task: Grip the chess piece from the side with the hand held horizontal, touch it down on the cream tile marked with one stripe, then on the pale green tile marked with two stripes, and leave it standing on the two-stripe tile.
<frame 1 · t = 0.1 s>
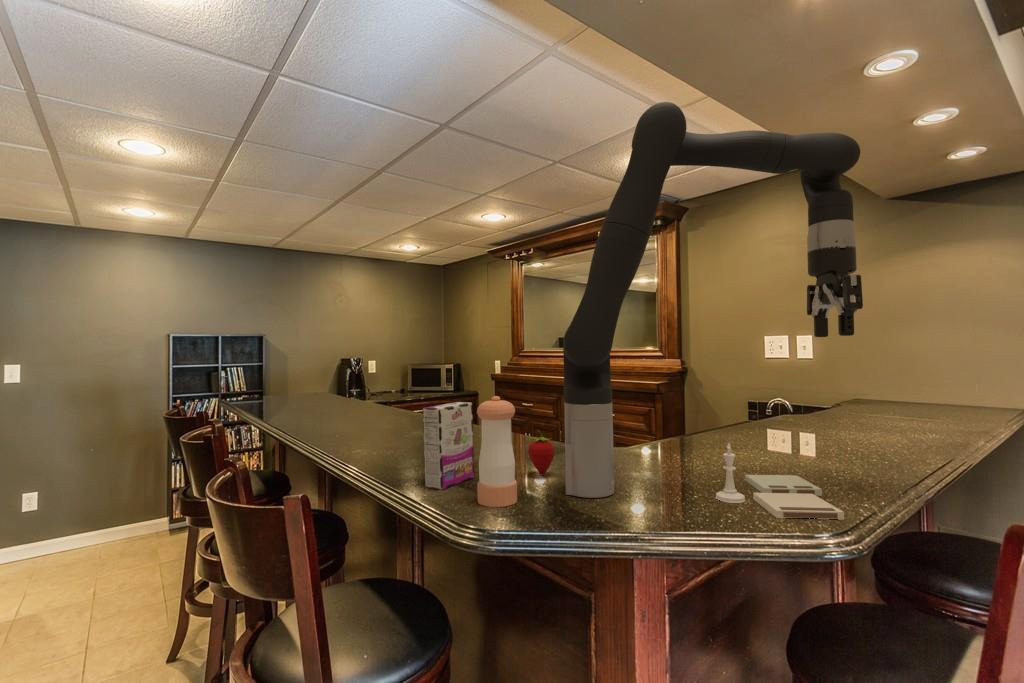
hand: (833, 336, 89), 29 cm above the countertop, tool pointing down, fingers open, 8 cm apart
pepper shaker: (497, 502, 89), on the countertop
tile two: (781, 487, 94), on the countertop
tile one: (795, 508, 82), on the countertop
strawberry: (541, 476, 107), on the countertop
candy bar box: (449, 483, 102), on the countertop
chess piece: (730, 500, 88), on the countertop
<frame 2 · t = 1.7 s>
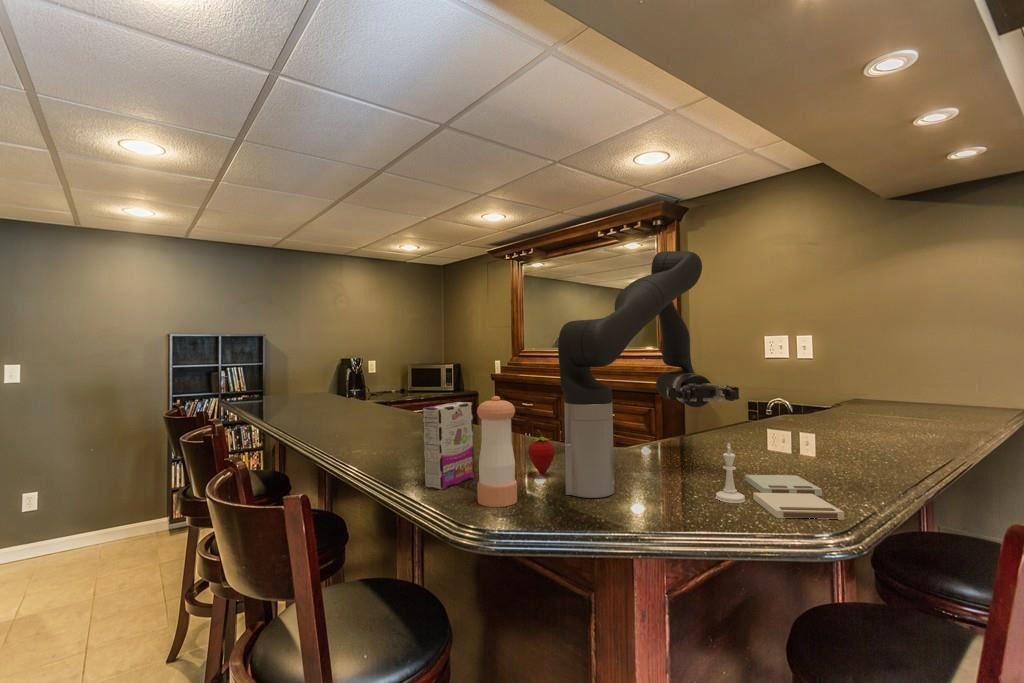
hand: (710, 395, 99), 18 cm above the countertop, tool horizontal, fingers open, 8 cm apart
nothing on the countertop moved.
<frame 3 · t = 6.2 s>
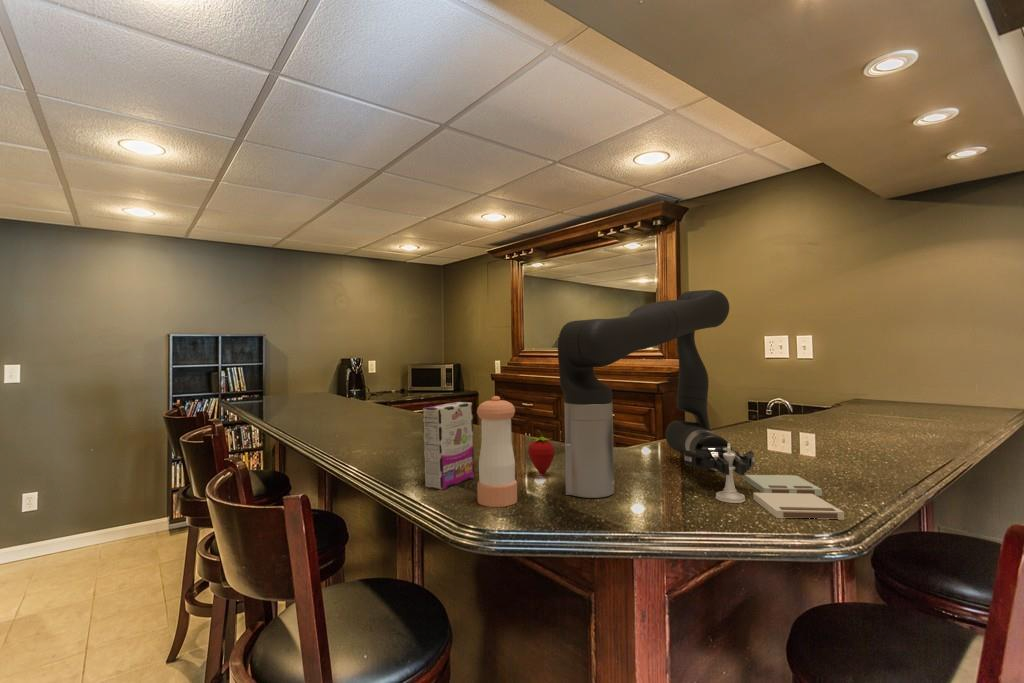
hand: (734, 469, 85), 6 cm above the countertop, tool horizontal, fingers closed on chess piece
chess piece: (730, 500, 88), on the countertop, touching gripper
everything else where it was.
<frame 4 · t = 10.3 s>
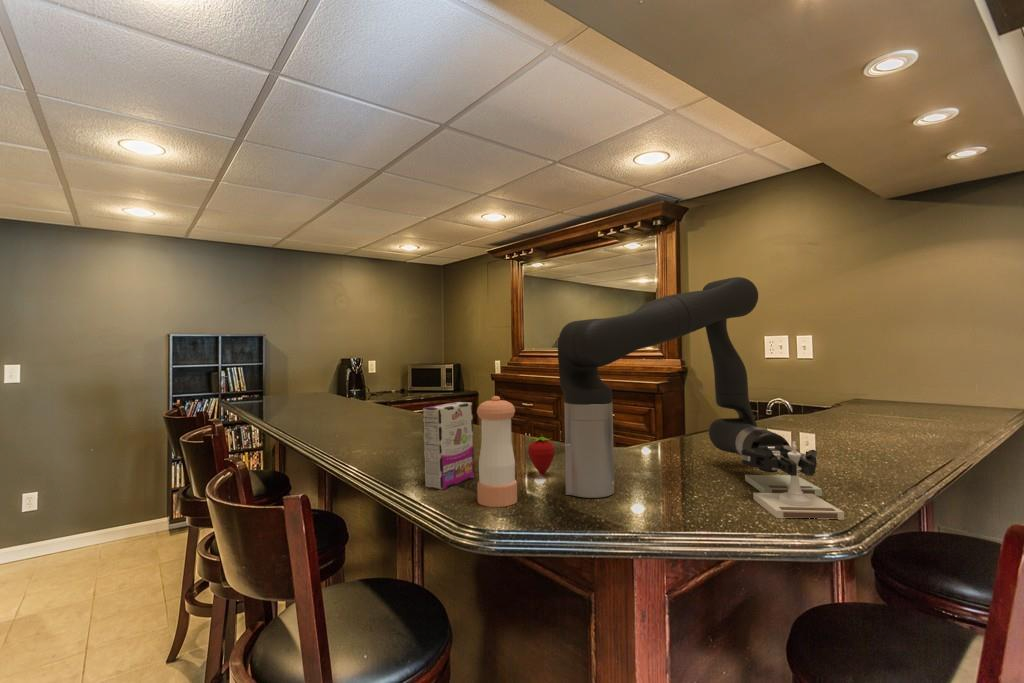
hand: (802, 469, 79), 7 cm above the countertop, tool horizontal, fingers closed on chess piece
chess piece: (795, 502, 82), point 1 cm above the countertop, touching gripper, tile one
everything else where it was.
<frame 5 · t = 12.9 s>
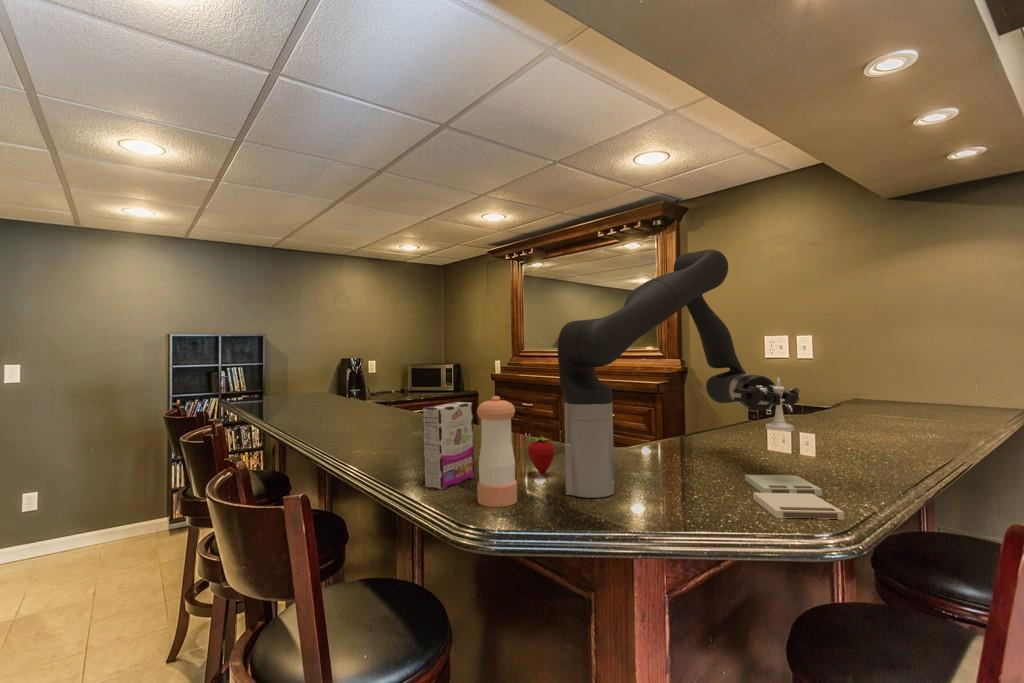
hand: (785, 399, 92), 17 cm above the countertop, tool horizontal, fingers closed on chess piece
chess piece: (779, 429, 95), point 11 cm above the countertop, touching gripper
everything else where it was.
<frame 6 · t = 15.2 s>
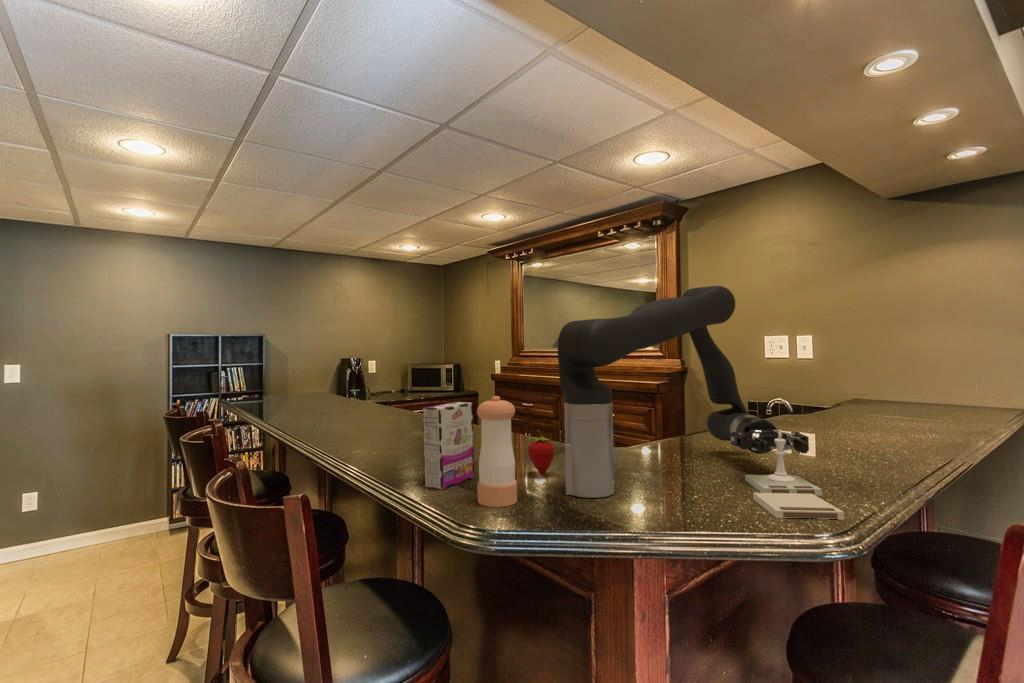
hand: (785, 447, 92), 8 cm above the countertop, tool horizontal, fingers open, 6 cm apart
chess piece: (781, 482, 95), point 1 cm above the countertop, touching tile two
everything else where it was.
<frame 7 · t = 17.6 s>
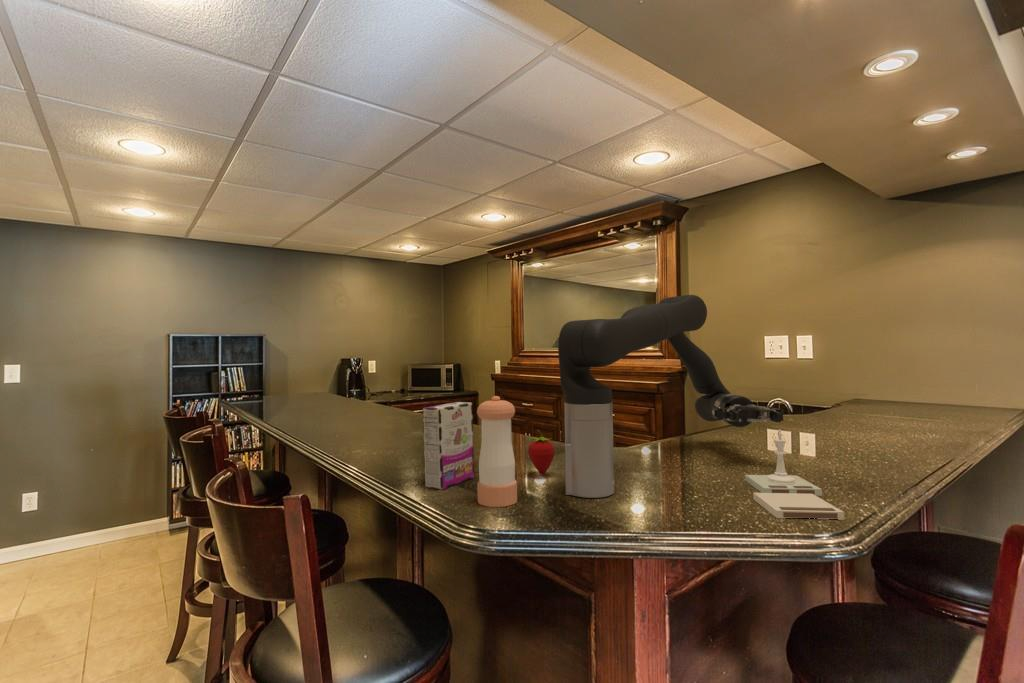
hand: (758, 417, 105), 12 cm above the countertop, tool horizontal, fingers open, 8 cm apart
nothing on the countertop moved.
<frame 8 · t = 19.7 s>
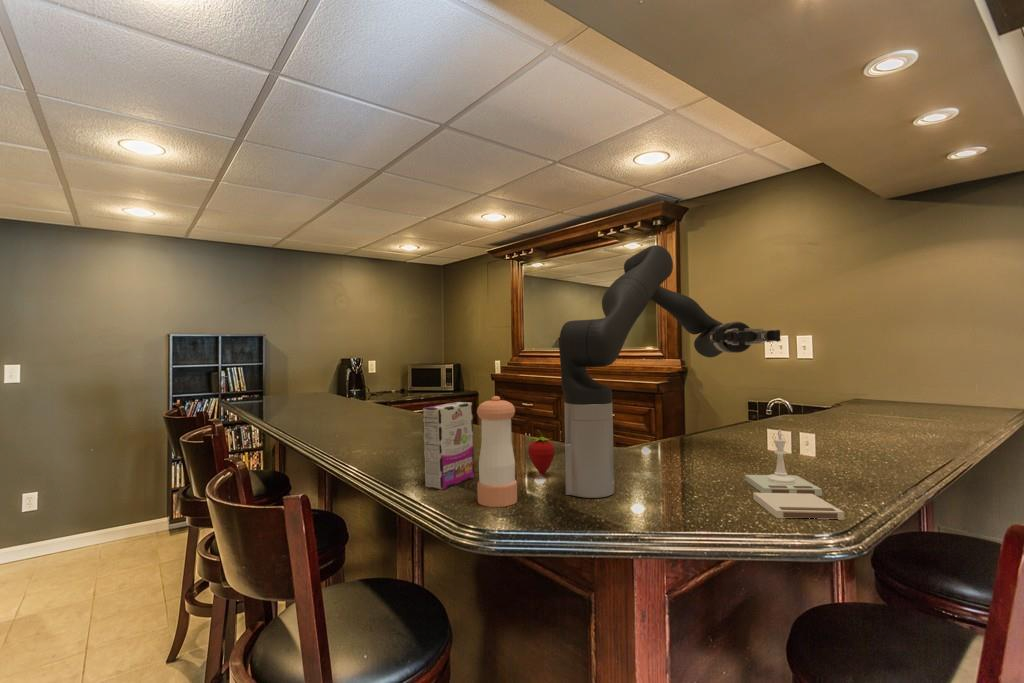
hand: (755, 335, 106), 30 cm above the countertop, tool horizontal, fingers open, 8 cm apart
nothing on the countertop moved.
at the end: chess piece 0.1 cm from the tile two (horizontally); chess piece tilted 0°; the gripper is holding nothing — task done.
